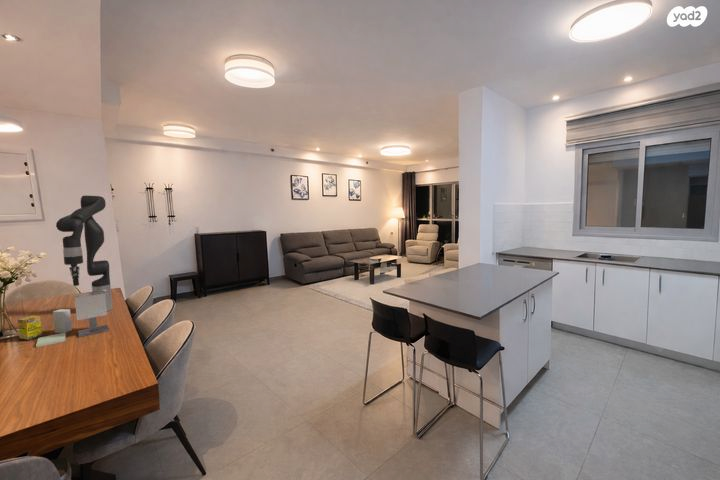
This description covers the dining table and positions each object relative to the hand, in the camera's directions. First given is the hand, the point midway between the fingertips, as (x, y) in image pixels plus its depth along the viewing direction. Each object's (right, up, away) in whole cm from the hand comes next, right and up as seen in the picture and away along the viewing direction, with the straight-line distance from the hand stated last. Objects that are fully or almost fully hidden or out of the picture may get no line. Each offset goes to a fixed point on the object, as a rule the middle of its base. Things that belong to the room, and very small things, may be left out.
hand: (76, 284), depth 165 cm
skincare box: (-6, -26, -1) cm, 26 cm away
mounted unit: (+11, -26, -2) cm, 28 cm away
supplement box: (-14, -27, -10) cm, 32 cm away
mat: (0, -27, -13) cm, 30 cm away
